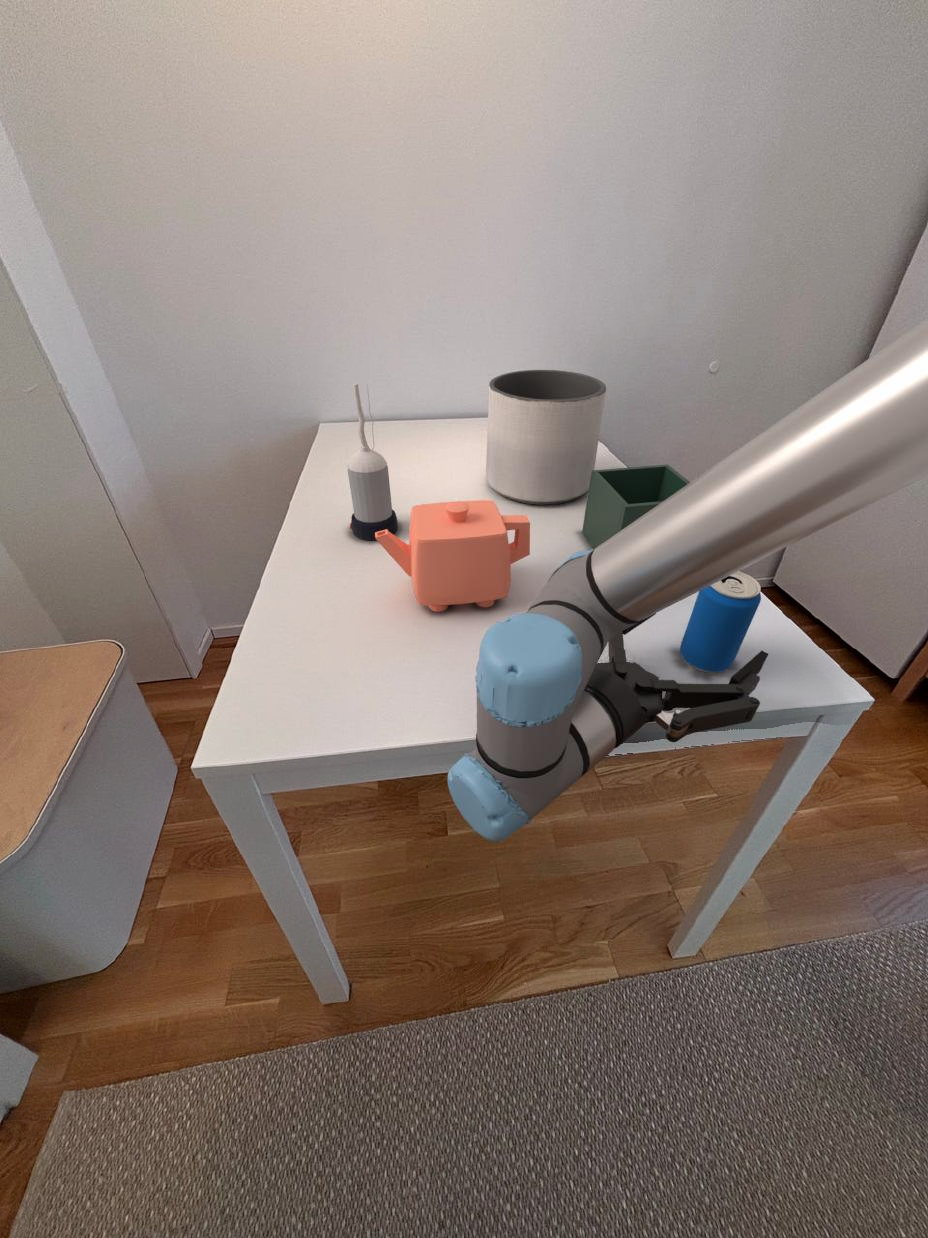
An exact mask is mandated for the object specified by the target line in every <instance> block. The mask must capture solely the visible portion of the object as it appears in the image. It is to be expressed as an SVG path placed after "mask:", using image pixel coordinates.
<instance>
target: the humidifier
mask: <svg viewBox="0 0 928 1238" xmlns="http://www.w3.org/2000/svg"><path fill="white" fill-rule="evenodd" d="M368 385H369V384H368V383H366V388H367V389H366V390H367V391H369V387H368ZM352 386H353V394H354V401H355V407H356V413H357V415H358V437H359V440H360V443H361V447H360V448H361V449H360V450H359V451H357V452H355V453H354V454H353V455H352V456H350V459H349V460H348V463H347V476H348V477H347V478H348V481H349V482H348V483H349V489H350V495H351V496H350V497H351V502H352V508H353V513H352V514H351V522H350V525H349V529H351V530H352V534H353V536H355V537H356V538H357V539H359V540H362V541H367V542H378V541H377V540H376V538H375V532H379V531H382V530H386V529H387V530H388V531H389V532H390V533H392V534H393V535H394V536H396V534H397V532H398V530H399V527H398V526H399V525H398V517H397V514H396V511H395V510H394V509H393V504H392V494H391V485H390V484H391V483H390V475H389V467H388V463H387V461H386V458H385V457H384V456H383V455H382V454H381V453H380V452H377V451H376V450H374V449H375V445H373V447H372V449H371V448H370V446H369V445H368V442H367V438H366V435H365V421H366V418H365V415H364V411H363V408H362V403H361V394H360V389H359V383H352ZM367 399H368V400H370V395H369V393H367ZM370 407H371V405H370V402H368V412H369V415H370V417H371V422H372V424H371V426H372V427H371V432H372V434H374V419H373V415H372V414H371V410H370V409H371V408H370ZM372 438H373V439H372V441H373V443H372V444H375V436H374V435H372Z"/></svg>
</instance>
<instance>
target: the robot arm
mask: <svg viewBox="0 0 928 1238" xmlns="http://www.w3.org/2000/svg"><path fill="white" fill-rule="evenodd" d="M927 476H928V317H927V318H925V319H924V320H922V321H921V322H920V323H918V324H917V325H915V326H914V327H912V328H911V329H910V330H908V331H907V332H906V333H904V334H903V335H901V336H899V337H898V338H897V339H895V340H894V341H892V342H891V343H889V344H888V345H886V346H885V347H883V348H882V349H880V350H879V351H878V352H877V353H875V354H873V355H872V356H871V357H869V358H868V359H867V360H865V361H863V362H862V363H861V364H859V365H857V367H855V368H854V369H852V370H851V371H848V373H846V374H845V375H844V376H842V377H840V378H838V380H836V381H835V382H833V383H832V384H830V385H829V386H827V387H826V388H824V389H823V390H822V391H820V392H819V393H817V394H816V395H815V396H813V397H812V398H810V399H809V400H807V401H806V402H805V403H803V404H801V405H800V406H799V407H797V408H796V409H794V410H793V411H791V412H790V413H789V414H786V416H784V417H783V418H781V419H780V420H778V421H777V422H775V423H774V424H773V425H771V426H770V427H768V428H767V429H766V430H764V431H762V432H760V434H758V435H756V436H755V437H753V438H752V439H751V440H750V441H748V442H746V443H745V444H743V445H742V446H741V447H739V448H738V449H737V450H735V451H734V452H733V453H731V454H729V455H727V456H726V457H725V458H724V459H722V460H720V461H719V462H718V463H716V464H714V465H713V466H712V467H710V468H709V469H707V470H706V471H704V473H702V474H701V475H699V476H698V477H696V478H694V479H693V480H692V481H689V482H690V483H689V484H688V485H686V486H685V487H683V488H682V489H680V490H679V491H677V492H676V493H675V494H673V495H672V496H670V497H669V498H667V499H666V500H664V501H663V502H662V503H660V504H659V505H657V506H656V507H654V508H653V509H651V510H650V511H649V512H647V513H646V514H644V515H643V516H641V517H640V518H638V519H637V520H636V521H634V522H633V523H631V524H630V525H628V526H627V527H626V528H624V529H623V530H621V531H620V532H618V533H617V534H615V535H614V536H613V537H611V538H610V539H608V540H607V541H605V542H604V543H602V544H601V545H600V546H598V547H597V548H595V549H593V548H592V549H584V550H580V551H576V552H574V553H573V554H571V555H570V556H568V557H567V558H566V559H565V560H564V561H563V563H561V564H560V565H559V566H558V567H557V568H556V569H554V571H552V573H551V575H550V577H549V579H548V580H547V582H546V584H545V585H544V586H543V588H542V589H541V591H540V593H539V594H538V595H537V596H536V598H535V599H534V601H533V602H532V604H531V605H530V607H529V608H528V610H527V611H526V612H525V613H517V614H512V615H510V616H508V617H507V619H504V620H503V621H496V622H495V623H494V624H492V625H491V626H490V627H488V629H487V631H486V632H485V633H484V635H483V637H482V638H481V641H480V646H479V654H478V661H477V664H476V667H475V671H476V674H475V676H474V677H475V678H474V680H475V683H476V684H475V688H476V733H475V747H474V749H473V750H471V751H470V752H466V753H464V754H463V755H462V757H460V759H459V760H458V761H456V763H455V764H453V765H451V767H450V769H449V771H448V773H447V787H448V790H449V791H448V792H449V793H450V797H451V798H452V801H453V803H454V805H455V807H456V808H457V810H458V812H459V813H460V815H461V816H462V818H463V819H464V820H465V821H466V823H467V824H468V825H469V826H470V827H471V828H472V830H474V831H475V833H477V834H478V835H480V836H481V837H482V838H484V839H486V840H488V841H491V842H501V841H504V840H506V839H507V838H509V837H510V836H511V835H513V834H514V833H516V832H517V831H518V830H520V829H522V828H523V827H524V826H526V825H529V824H531V823H532V822H533V821H532V820H533V819H534V818H535V817H536V816H537V815H539V814H540V813H541V812H542V811H544V809H546V808H547V807H548V806H550V804H552V803H553V802H554V801H555V800H556V799H558V797H560V796H561V795H562V794H564V792H566V791H567V790H568V789H569V788H570V787H572V786H573V785H574V784H575V783H576V782H578V781H579V780H580V779H581V778H582V777H584V775H586V774H587V773H588V772H589V771H590V770H592V769H593V768H594V767H595V766H596V765H598V764H599V763H600V762H602V760H604V759H605V758H607V756H609V755H610V754H611V753H612V752H613V751H614V750H615V749H617V748H619V747H620V746H621V745H622V744H624V743H625V742H627V740H628V739H629V738H631V737H632V736H633V735H634V734H635V733H637V732H638V731H639V730H640V729H642V727H643V726H644V725H647V724H650V723H655V724H658V726H660V727H661V728H662V729H663V730H665V731H666V733H665V739H666V740H667V741H668V742H671V743H677V742H679V741H680V740H682V739H683V738H685V737H686V736H687V735H691V734H696V733H700V732H701V733H702V732H705V731H711V730H716V729H721V728H726V727H730V726H735V725H741V724H745V723H750V722H752V720H753V718H754V716H755V715H756V712H757V711H758V709H759V707H760V705H761V701H760V700H759V699H758V698H757V697H755V696H750V695H751V694H752V693H753V692H754V691H755V690H756V688H757V687H758V684H759V682H760V680H761V676H760V675H758V674H759V673H760V672H761V671H762V668H763V666H764V664H765V662H766V660H767V659H768V657H769V653H768V652H766V651H764V650H760V651H759V652H758V653H757V654H755V656H754V657H752V658H751V659H750V660H749V661H748V662H747V663H745V665H744V666H742V667H741V668H740V669H739V670H738V671H737V672H735V673H734V674H733V675H732V676H731V677H730V679H729V681H728V683H678V682H677V681H676V679H675V680H674V679H660V676H658V675H656V674H655V673H653V672H650V671H648V670H646V669H644V667H642V666H641V665H640V663H637V662H635V661H634V662H630V661H627V653H626V652H627V651H626V649H625V644H624V636H625V635H627V634H629V633H630V632H631V631H633V630H635V629H636V628H638V627H639V626H640V625H642V624H644V623H645V622H646V621H648V620H649V619H651V618H653V617H654V616H655V615H657V613H659V612H661V611H663V610H665V609H666V608H668V607H670V606H671V607H672V606H673V605H675V604H676V603H679V602H681V601H683V600H685V599H686V598H688V597H690V596H692V595H694V594H696V593H699V591H700V590H702V589H704V588H706V587H708V586H710V585H712V584H714V583H716V582H718V581H720V580H722V579H724V578H726V577H728V576H730V575H732V574H734V573H736V572H738V571H739V572H741V571H742V570H744V569H746V568H748V567H750V566H752V565H753V564H756V563H758V562H760V561H761V560H763V559H766V558H767V557H771V555H774V554H775V553H777V552H780V551H782V550H783V549H786V548H787V547H790V546H791V545H793V544H795V543H797V542H799V541H801V540H803V539H805V538H807V537H810V536H811V535H814V534H815V533H817V532H819V531H822V530H823V529H826V528H827V527H829V526H831V525H832V524H835V523H837V522H839V521H840V520H843V519H845V518H847V517H849V516H850V515H852V514H853V515H854V513H857V512H858V511H861V510H863V509H865V508H866V507H868V506H871V505H872V504H874V503H877V502H879V501H881V500H882V499H885V498H886V497H888V496H890V495H892V494H894V493H896V492H898V491H900V490H902V489H905V488H906V487H908V486H910V485H912V484H914V483H916V482H918V481H919V480H922V479H924V478H926V477H927ZM607 645H608V662H599V660H600V658H601V657H602V655H603V653H604V650H605V648H606V646H607ZM663 693H664V694H663ZM663 695H664V696H663ZM674 709H675V710H674ZM680 709H684V710H683V711H682V710H680ZM673 710H674V711H673ZM671 711H672V712H671Z"/></svg>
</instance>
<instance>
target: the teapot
mask: <svg viewBox="0 0 928 1238" xmlns="http://www.w3.org/2000/svg"><path fill="white" fill-rule="evenodd" d="M409 519H410V520H409V537H408V543H409V544H407V543H406V542H405V541H403V540H402V539H400V537H398V536H396V535H393V534H392V533H390V532H389V531H388V530H387V529H386V530H382V531H379V532H375V538H376V540H377V541H376V542H378V544H380V546H381V547H382V548H383V549H384V550H385V551H386V552H387V553H388V554H389V556H390V557H391V558H392V559H393V560H394V561H395V562H396V564H398V566H399V567H400V568H401V569H402V570H403V571H404V573H405V574H406V575H407V576H408V577H410V578H411V582H412V588H413V592H414V595H415V599H416V601H417V604H418V605H419V606H428V608H429V609H430V610H431V611H433V612H443V611H446V610H447V609H448V607H449V606H450V605H464V604H473V603H475V604H476V605H477V606H478V607H481V608H488V607H492V606H494V603H495V600H500V599H504V598H507V597H508V594H509V591H510V588H511V582H512V581H511V580H512V578H511V577H512V572H511V571H512V567H511V565H512V564H515V563H516V562H518V561H521V560H522V559H524V558H526V557H528V556H530V555H531V521H530V519H529V518H528V515H527V514H518V515H517V514H515V515H514V514H508V515H507V514H501V513H500V511H499V508H498V506H497V505H496V503H495V501H493V500H490V499H488V500H487V499H486V500H485V499H484V500H483V499H482V500H481V499H480V500H479V499H478V500H459V501H457V500H456V501H444V502H435V503H425V504H424V503H423V504H417V505H413V506H412V507H411V511H410V518H409ZM508 531H514V538H513V541H512V542H510V543H509V535H508Z"/></svg>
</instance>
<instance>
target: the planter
mask: <svg viewBox="0 0 928 1238" xmlns="http://www.w3.org/2000/svg"><path fill="white" fill-rule="evenodd" d="M606 392H607V386H606V383H604V382H603V381H602V380H600V379H598V378H597V377H594V376H591V375H587V374H584V373H581V372H580V373H579V372H573V371H567V370H555V369H527V370H517V371H511V372H507V373H503V374H500V375H498V376H495V377H494V378H492V379H491V380H490V381H489V383H488V404H487V405H488V406H487V407H488V408H487V434H486V435H487V436H486V454H485V455H486V459H485V479H486V483H487V484H488V486H489V488H491V489H492V491H494V492H496V493H497V494H498V495H500V496H502V497H504V498H506V499H508V500H511V501H514V502H519V503H522V504H528V505H543V506H544V505H545V506H548V505H557V504H558V505H559V504H563V503H566V502H570V501H573V500H575V499H578V498H579V497H581V496H583V495H584V494H586V493H588V491H589V485H590V478H591V472H592V470H595V468H596V467H595V466H596V463H597V462H596V460H597V453H598V448H599V447H598V446H599V440H600V433H601V426H602V419H603V412H604V406H605V399H606V394H607V393H606Z"/></svg>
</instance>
